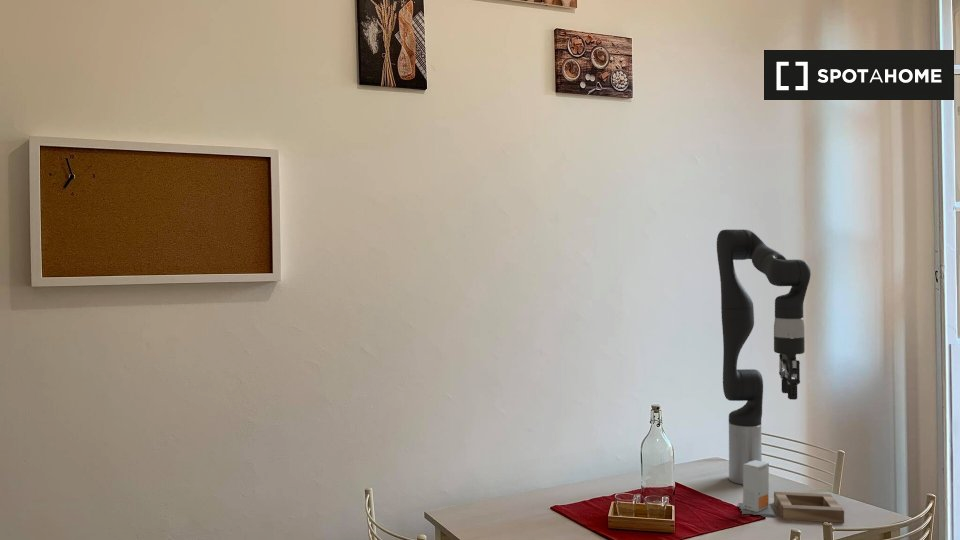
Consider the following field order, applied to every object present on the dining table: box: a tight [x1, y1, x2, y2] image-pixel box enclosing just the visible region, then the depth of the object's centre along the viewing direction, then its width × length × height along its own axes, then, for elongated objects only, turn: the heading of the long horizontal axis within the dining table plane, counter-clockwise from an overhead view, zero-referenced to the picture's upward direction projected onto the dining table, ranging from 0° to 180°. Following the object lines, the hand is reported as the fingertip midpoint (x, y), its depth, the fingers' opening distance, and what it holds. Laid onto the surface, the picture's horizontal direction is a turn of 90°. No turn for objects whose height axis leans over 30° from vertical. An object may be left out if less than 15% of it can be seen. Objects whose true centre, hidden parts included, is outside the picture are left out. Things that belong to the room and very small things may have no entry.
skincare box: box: [742, 460, 770, 512], centre depth 203 cm, size 6×4×12 cm
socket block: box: [773, 491, 845, 523], centre depth 201 cm, size 13×14×3 cm
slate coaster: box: [737, 502, 776, 518], centre depth 203 cm, size 8×8×1 cm
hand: (789, 396), depth 203 cm, fingers open, 8 cm apart
